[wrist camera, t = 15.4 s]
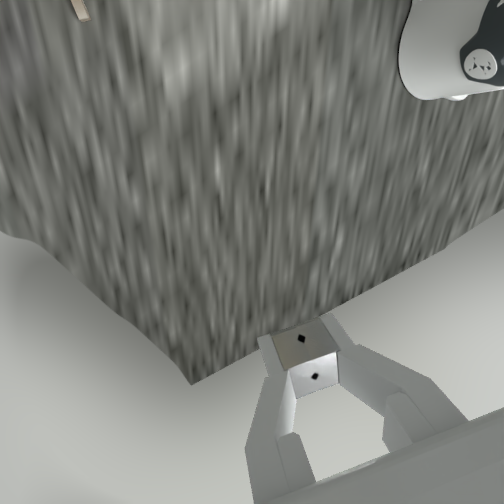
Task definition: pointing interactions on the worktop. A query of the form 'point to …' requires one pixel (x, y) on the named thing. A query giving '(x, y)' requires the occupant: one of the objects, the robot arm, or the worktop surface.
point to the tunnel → (81, 10)
